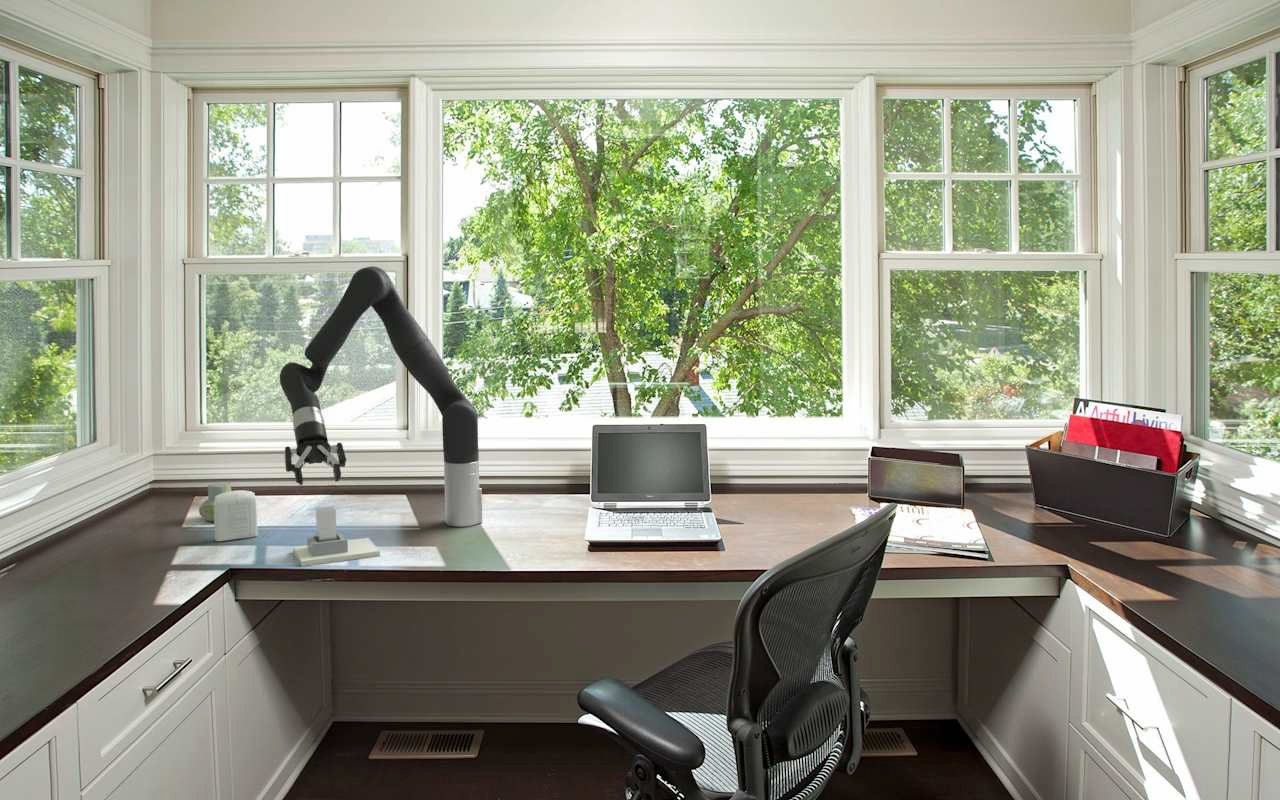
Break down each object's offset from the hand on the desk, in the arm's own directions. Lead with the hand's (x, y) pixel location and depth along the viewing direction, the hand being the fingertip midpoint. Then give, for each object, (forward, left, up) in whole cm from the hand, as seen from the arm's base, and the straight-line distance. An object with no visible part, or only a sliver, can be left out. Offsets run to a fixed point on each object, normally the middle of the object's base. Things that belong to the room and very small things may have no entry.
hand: (319, 481), depth 238 cm
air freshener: (+20, -40, -17) cm, 48 cm away
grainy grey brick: (0, +7, -15) cm, 17 cm away
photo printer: (+18, -18, -17) cm, 31 cm away
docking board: (-2, +8, -17) cm, 18 cm away
